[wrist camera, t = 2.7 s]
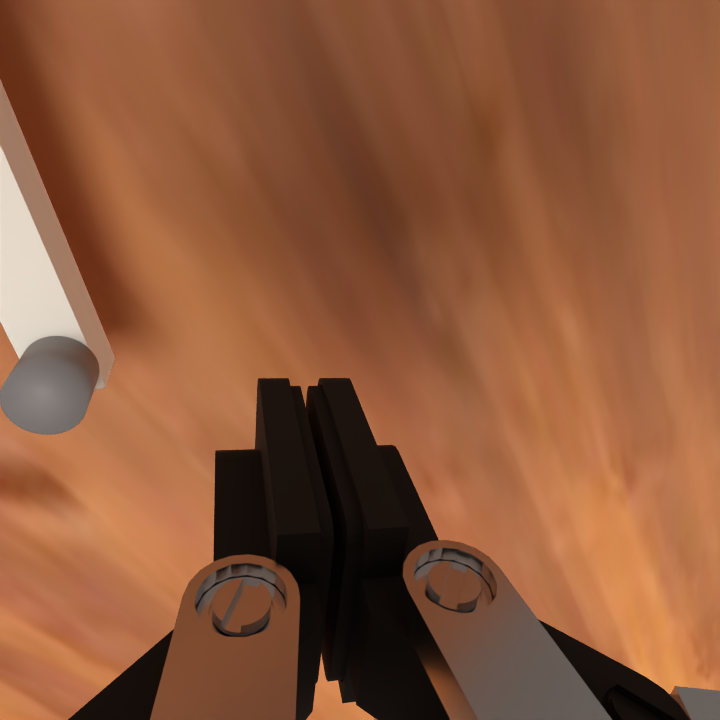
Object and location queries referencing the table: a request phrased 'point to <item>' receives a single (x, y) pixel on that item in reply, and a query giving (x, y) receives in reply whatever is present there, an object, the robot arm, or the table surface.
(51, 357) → the tongs moving jaw
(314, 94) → the table surface
